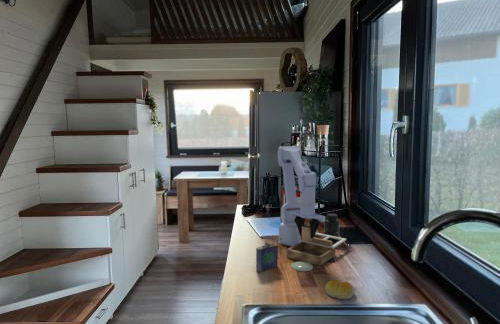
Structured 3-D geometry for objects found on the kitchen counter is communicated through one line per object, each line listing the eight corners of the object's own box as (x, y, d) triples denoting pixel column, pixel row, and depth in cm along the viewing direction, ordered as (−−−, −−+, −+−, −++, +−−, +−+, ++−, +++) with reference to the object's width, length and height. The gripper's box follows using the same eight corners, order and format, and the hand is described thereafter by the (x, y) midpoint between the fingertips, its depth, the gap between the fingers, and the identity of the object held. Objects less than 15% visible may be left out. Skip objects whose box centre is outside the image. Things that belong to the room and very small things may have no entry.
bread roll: (330, 285, 122) (330, 274, 121) (356, 292, 117) (357, 280, 117) (320, 295, 115) (321, 283, 114) (348, 302, 110) (349, 290, 110)
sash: (300, 241, 154) (300, 235, 154) (314, 233, 164) (315, 228, 164) (333, 248, 145) (333, 242, 145) (346, 240, 155) (346, 234, 155)
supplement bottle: (339, 242, 163) (340, 216, 162) (324, 241, 165) (324, 216, 163) (338, 237, 170) (339, 213, 168) (324, 237, 171) (324, 212, 170)
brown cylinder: (299, 239, 144) (299, 226, 143) (304, 236, 147) (305, 223, 146) (309, 242, 141) (309, 228, 140) (314, 238, 144) (314, 225, 144)
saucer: (287, 268, 135) (287, 266, 135) (298, 261, 142) (298, 259, 141) (306, 274, 130) (306, 271, 130) (316, 266, 137) (316, 264, 137)
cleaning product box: (303, 229, 183) (304, 191, 181) (286, 230, 182) (286, 191, 180) (296, 220, 199) (296, 185, 197) (280, 221, 198) (280, 185, 196)
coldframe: (286, 257, 146) (286, 249, 146) (302, 248, 156) (302, 240, 156) (320, 266, 137) (320, 257, 136) (335, 256, 147) (335, 248, 147)
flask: (258, 273, 131) (258, 244, 130) (254, 270, 134) (254, 242, 133) (279, 267, 136) (279, 240, 135) (274, 265, 139) (274, 238, 137)
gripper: (286, 202, 143) (286, 235, 145) (319, 207, 135) (319, 242, 136) (295, 199, 149) (295, 231, 151) (327, 204, 140) (327, 237, 142)
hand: (307, 236), depth 144 cm, fingers closed on brown cylinder, 4 cm apart
